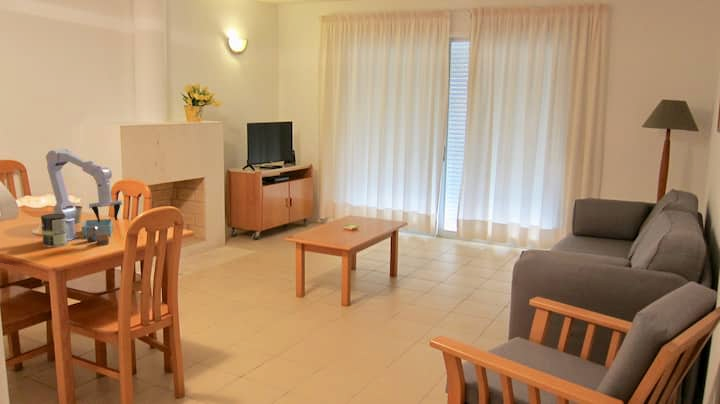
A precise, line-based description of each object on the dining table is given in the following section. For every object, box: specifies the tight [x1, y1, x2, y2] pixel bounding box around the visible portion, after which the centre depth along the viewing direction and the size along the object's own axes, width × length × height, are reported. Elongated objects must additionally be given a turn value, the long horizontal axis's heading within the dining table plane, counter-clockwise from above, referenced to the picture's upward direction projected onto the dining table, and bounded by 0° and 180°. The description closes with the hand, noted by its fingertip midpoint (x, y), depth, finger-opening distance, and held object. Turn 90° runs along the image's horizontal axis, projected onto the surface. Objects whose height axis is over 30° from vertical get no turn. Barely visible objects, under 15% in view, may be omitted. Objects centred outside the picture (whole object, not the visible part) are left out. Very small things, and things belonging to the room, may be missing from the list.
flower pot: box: [74, 205, 83, 224], centre depth 325 cm, size 9×9×9 cm
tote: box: [81, 218, 114, 239], centre depth 301 cm, size 17×13×6 cm
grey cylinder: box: [86, 226, 98, 243], centre depth 284 cm, size 5×5×7 cm
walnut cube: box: [96, 232, 110, 246], centre depth 280 cm, size 5×5×5 cm
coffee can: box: [40, 213, 68, 248], centre depth 275 cm, size 10×10×14 cm
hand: (107, 221), depth 281 cm, fingers open, 7 cm apart
